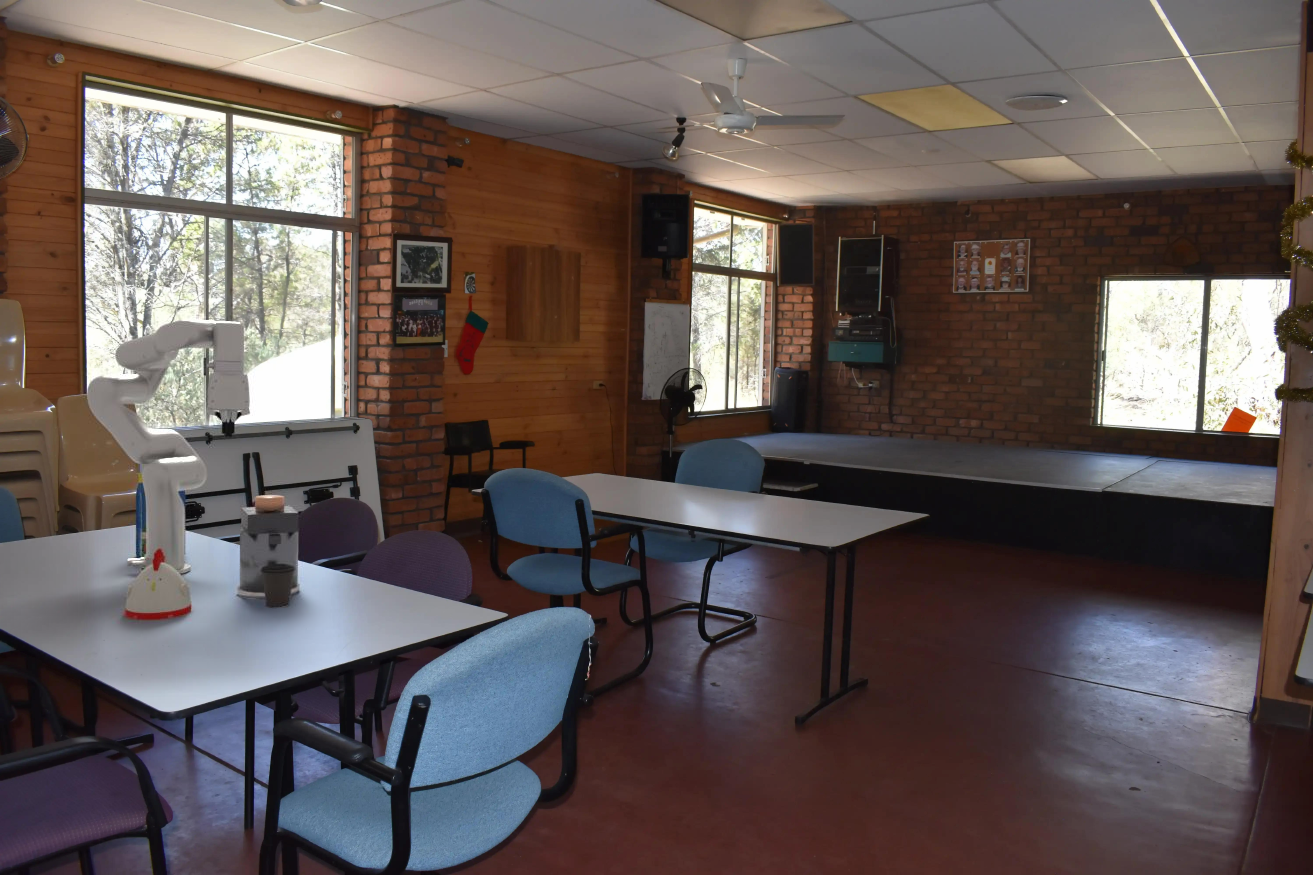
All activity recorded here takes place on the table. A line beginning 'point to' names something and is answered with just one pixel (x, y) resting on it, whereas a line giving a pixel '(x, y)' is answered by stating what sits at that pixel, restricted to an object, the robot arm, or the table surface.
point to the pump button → (269, 502)
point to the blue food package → (144, 518)
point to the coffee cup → (277, 584)
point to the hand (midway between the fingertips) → (228, 436)
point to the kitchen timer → (158, 592)
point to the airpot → (266, 547)
